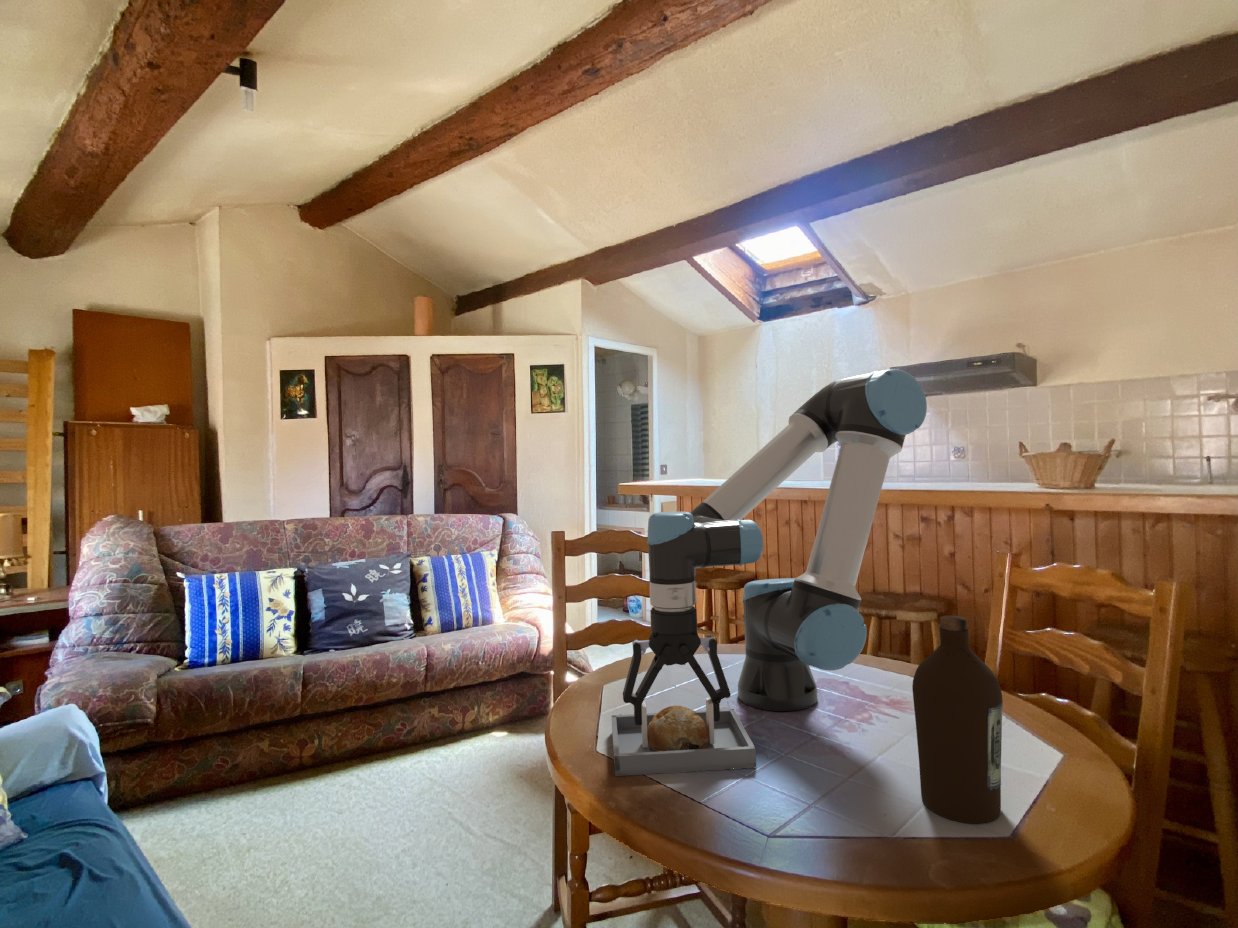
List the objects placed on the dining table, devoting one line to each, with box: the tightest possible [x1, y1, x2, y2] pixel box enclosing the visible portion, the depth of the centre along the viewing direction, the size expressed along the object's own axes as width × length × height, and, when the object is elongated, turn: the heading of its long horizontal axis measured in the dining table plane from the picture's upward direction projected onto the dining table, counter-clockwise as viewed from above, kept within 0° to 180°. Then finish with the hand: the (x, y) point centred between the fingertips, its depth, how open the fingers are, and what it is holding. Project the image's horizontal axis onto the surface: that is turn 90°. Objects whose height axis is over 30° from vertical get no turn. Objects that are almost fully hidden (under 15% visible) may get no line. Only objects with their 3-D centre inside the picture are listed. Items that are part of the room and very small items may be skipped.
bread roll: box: [647, 705, 710, 752], centre depth 105 cm, size 10×10×8 cm
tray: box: [611, 708, 757, 777], centre depth 106 cm, size 22×16×3 cm
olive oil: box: [911, 615, 1004, 824], centre depth 86 cm, size 11×11×25 cm
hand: (677, 742), depth 105 cm, fingers closed on bread roll, 10 cm apart
